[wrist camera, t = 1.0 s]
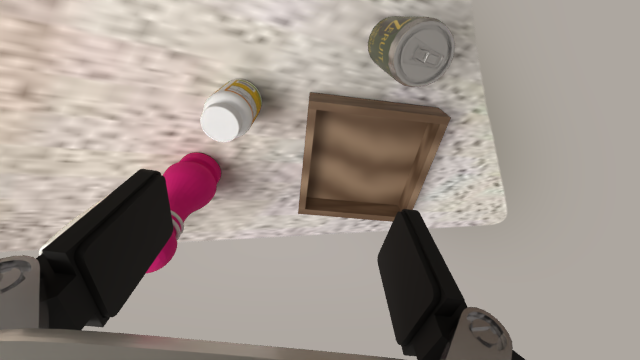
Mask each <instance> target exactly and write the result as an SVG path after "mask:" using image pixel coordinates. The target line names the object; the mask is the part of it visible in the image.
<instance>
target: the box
mask: <svg viewBox="0 0 640 360" xmlns="http://www.w3.org/2000/svg"><path fill="white" fill-rule="evenodd" d="M450 118H451V117H450V116H448V115H447V114H446V113H444V112H443V111H442V110H440V109H439V108H436V107H428V106H419V105H411V104H403V103H394V102H386V101H378V100H370V99H361V98H353V97H345V96H337V95H328V94H320V93H312V92H310V96H309V106H308V117H307V127H306V137H305V148H304V158H303V168H302V179H301V189H300V200H299V211H298V214H309V215H321V216H333V217H345V218H357V219H369V220H380V221H392V222H393V221H394V219H395V216H396V214H397V212H399V211H400V212H401V211H402V210H403V209H410V210H413V207H414V205H415V203H416V200H417V198H418V195H419V193H420V190H421V188H422V186H423V183H424V181H425V178H426V176H427V174H428V171H429V169H430V166H431V164H432V162H433V159H434V157H435V154H436V152H437V150H438V147H439V145H440V142H441V140H442V138H443V135H444V133H445V130H446V128H447V126H448V123H449V121H450Z"/></svg>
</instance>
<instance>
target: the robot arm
mask: <svg viewBox="0 0 640 360" xmlns="http://www.w3.org/2000/svg"><path fill="white" fill-rule="evenodd" d="M172 233H173V222H172V216H171V210H170V204H169V198H168V192H167V186H166V180H165V177H164V176H161V174H160V172H158V171H153V170H146V169H140V170H139V171H137V172H136V173H135V174H134V175H133V176H131V177H130V178H129V179H128V180H127V181H125V182H124V183H123V184H122V185H120V186H119V187H118V188H117V189H116V190H114V191H113V192H112V193H111V194H109V195H108V196H107V197H106V198H105V199H103V200H102V201H101V202H100V203H99V204H97V205H96V206H95V207H94V208H92V209H91V210H90V211H89V212H88V213H86V214H85V215H84V216H83V217H82V218H80V219H79V220H78V221H77V222H75V223H74V224H73V225H72V226H71V227H69V228H68V229H67V230H66V231H64V232H63V233H62V234H61V235H60V236H58V237H57V238H56V239H55V240H54V241H52V242H51V243H50V244H49V245H47V246H46V247H45V248H44V249H43V250H42V252H43V253H42V254H41V255H40V256H38V258H36V259H35V258H34V257H30V256H24V255H23V256H11V257H6V258H1V259H0V360H403V359H395V358H386V357H377V356H366V355H357V354H346V353H335V352H326V351H314V350H305V349H294V348H283V347H272V346H261V345H250V344H238V343H228V342H216V341H206V340H194V339H182V338H171V337H159V336H148V335H135V334H124V333H110V332H96V331H82V328H83V327H84V326H95V327H104V325H105V324H106V322H107V321H108V320H109V318H110V317H114V316H115V315H117V313H118V312H119V311H120V309H121V308H122V306H123V305H124V304H125V302H126V301H127V299H128V298H129V296H130V295H131V293H132V292H133V291H134V289H135V288H136V286H137V285H138V283H139V282H140V280H141V279H142V278H143V276H144V275H145V273H146V272H147V270H148V269H149V268H150V266H151V265H152V263H153V262H154V260H155V259H156V257H157V256H158V255H159V253H160V252H161V250H162V249H163V247H164V246H165V244H166V243H167V242H168V240H169V239H170V237H171V236H172ZM378 266H379V270H380V274H381V279H382V283H383V287H384V291H385V295H386V299H387V304H388V308H389V311H390V316H391V320H392V325H393V329H394V333H395V337H396V341H397V343H398V344H399V345H401V346H402V350H403V354H404V355H409V356H417V359H418V360H525V359H524V358H522V357H521V356H520V355H518V354H517V353H516V352H515V351H513V350H512V349H513V347H512V340H511V338H510V336H509V333H508V332H507V330H506V329H505V327H504V326H503V325H502V324H501V323H500V322H499V321H498V320H497V319H496V318H495V317H494V316H492V315H491V314H490V313H488V312H486V311H484V310H482V309H479V308H476V307H467V305H466V303H465V301H464V298H463V296H462V294H461V292H460V290H459V288H458V286H457V284H456V283H455V281H454V279H453V277H452V275H451V273H450V271H449V269H448V267H447V265H446V264H445V261H444V259H443V257H442V255H441V254H440V252H439V250H438V248H437V246H436V244H435V242H434V240H433V238H432V236H431V234H430V233H429V230H428V228H427V227H426V225H425V223H424V221H423V219H422V217H421V215H420V213H419V212H418V211H416V210H410V209H403V210H402V211H401V212H400V211H399V212H397V214H396V216H395V219H394V221H393V223H392V225H391V227H390V230H389V232H388V234H387V237H386V239H385V241H384V243H383V245H382V248H381V250H380V252H379V254H378Z"/></svg>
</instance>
